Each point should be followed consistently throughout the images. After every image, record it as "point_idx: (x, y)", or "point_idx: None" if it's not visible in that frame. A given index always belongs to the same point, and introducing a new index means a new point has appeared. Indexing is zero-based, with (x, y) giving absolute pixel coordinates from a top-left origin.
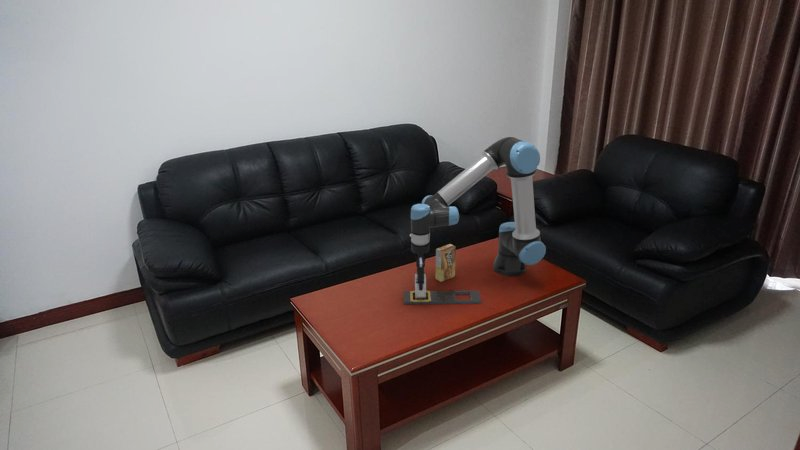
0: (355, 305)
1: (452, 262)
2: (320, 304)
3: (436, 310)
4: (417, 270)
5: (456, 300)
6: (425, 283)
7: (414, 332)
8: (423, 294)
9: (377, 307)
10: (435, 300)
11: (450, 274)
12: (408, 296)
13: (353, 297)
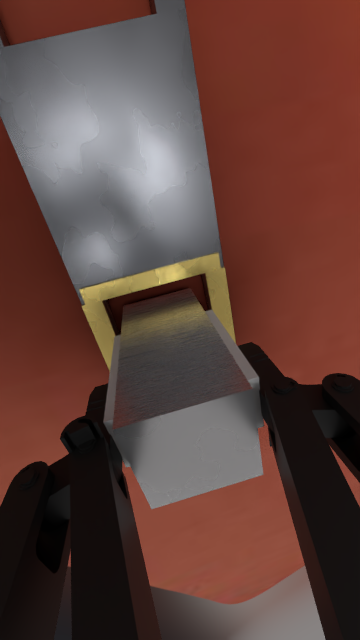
0: (259, 508)
1: None
2: (260, 566)
3: (287, 196)
4: (140, 544)
5: (169, 7)
6: (229, 356)
7: None
8: (216, 319)
9: (268, 454)
10: (202, 222)
11: None
12: None
13: (207, 531)
